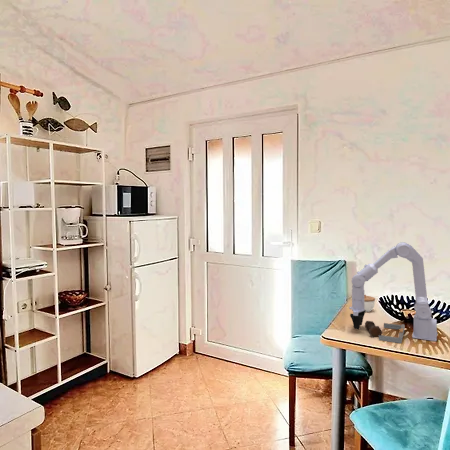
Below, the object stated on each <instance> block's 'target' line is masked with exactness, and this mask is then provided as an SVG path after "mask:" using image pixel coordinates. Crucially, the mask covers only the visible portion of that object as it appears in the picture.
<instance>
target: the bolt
mask: <svg viewBox="0 0 450 450" xmlns="http://www.w3.org/2000/svg"><path fill="white" fill-rule="evenodd" d="M364 327H365V328H366V330H367V331H368V333H369V334H370V336H371V338H374V337H379V335H382V334H383V331H382V329H381V327H380V326H379V325H376V323H375V322H374V321H373V320H366V321H365V322H364Z"/></svg>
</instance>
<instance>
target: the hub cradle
mask: <svg viewBox="0 0 450 450" xmlns="http://www.w3.org/2000/svg"><path fill="white" fill-rule="evenodd" d="M383 328H385V329H392V330H398V329H400V330H399V331H398V337H397V336H396V337H395V336H390V335H382V334H381V335H379V338H378V341H383V342H389V343H395V344H396V343H397V344H403V343H402V342H403V338H404V334H405V330H404V329H405V324H403V323H402V324H395V323H386V322H384V323H383Z"/></svg>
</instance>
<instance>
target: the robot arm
mask: <svg viewBox="0 0 450 450" xmlns="http://www.w3.org/2000/svg"><path fill="white" fill-rule="evenodd" d="M399 257H401V258H403V259H406V260H407V261H409V262H410V263H411V265H412V267H411V268H412V273H413V274H412V275H413V284H414V293H415V295H414V296H415V303H414V305H413V308H414V311H415V314H414V315H413V332H412V337H411V338H412V339H418V340H425V341H432V342H437V339H438V338H437V337H438V332H437V330H438V329H437V328H438V327H437V326H438V324H437V323H438V322H437V321H438V320H437V319H436V318H432V313H433V312H432V309H431V307H430V306H429V305H430V304H429V301H428V300H429V299H428V295H427V294H428V293H427V283H426V275H425V266H424V258H423V256H422V255H421V254H419V252H418V251H417V250H416V249H415V248H414V247H413V246H412V245H411V244H409V243H407V242H403V241H402V242H401V241H400V242H399V243H397V244H396V245H394V246H392V247H391V248H390V249H388V250H387V251H386V252H385V253H384V254H382V255H381V256H380V257H379V258H378V259H377V260H376V261H375V262H373V263H368V264H365V265H364V266H363V268H362V269H361V270H360V271H357V272H356V274H354V275H353V276H352V278H351V285H352V286H351V288H352V289H351V306H349V307H348V308H349V310H351V311H352V313H349V317H350V319H351V320H352V324H353V329H354V330H360V327H361V326H362V325H363V322H364V317H365V314H366V313H367V312H366V310H365V308H364V295H365V282H368V281H370V280H371V279H372V278H373V277H374V276H375V275H377V274H378V273H379V269H380V268H381V267H382V266H384V265H385V264H386V263H387V262H389V261H390V260H392V259H397V258H399Z"/></svg>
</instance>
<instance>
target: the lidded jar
mask: <svg viewBox="0 0 450 450" xmlns="http://www.w3.org/2000/svg"><path fill="white" fill-rule="evenodd" d="M375 300H376V298H375V297H373V296H369V295H366V294H364V308H365V310H366V312H365V313H370V312H372V310H374V308H375V304H376V301H375Z"/></svg>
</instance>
